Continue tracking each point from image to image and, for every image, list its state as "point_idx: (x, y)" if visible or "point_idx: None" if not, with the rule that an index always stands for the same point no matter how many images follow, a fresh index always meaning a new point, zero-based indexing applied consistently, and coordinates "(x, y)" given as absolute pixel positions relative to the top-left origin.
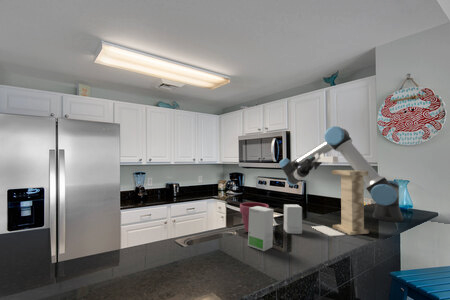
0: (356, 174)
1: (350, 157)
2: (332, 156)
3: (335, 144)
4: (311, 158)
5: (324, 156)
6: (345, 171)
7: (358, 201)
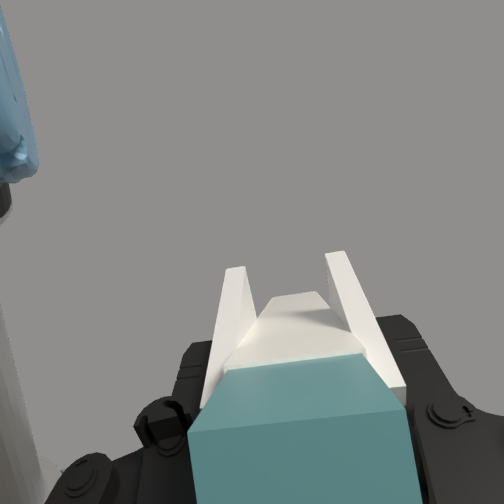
0: None
1: (5, 351)
2: (315, 291)
3: (17, 179)
4: (434, 368)
5: (255, 317)
6: None
7: None
